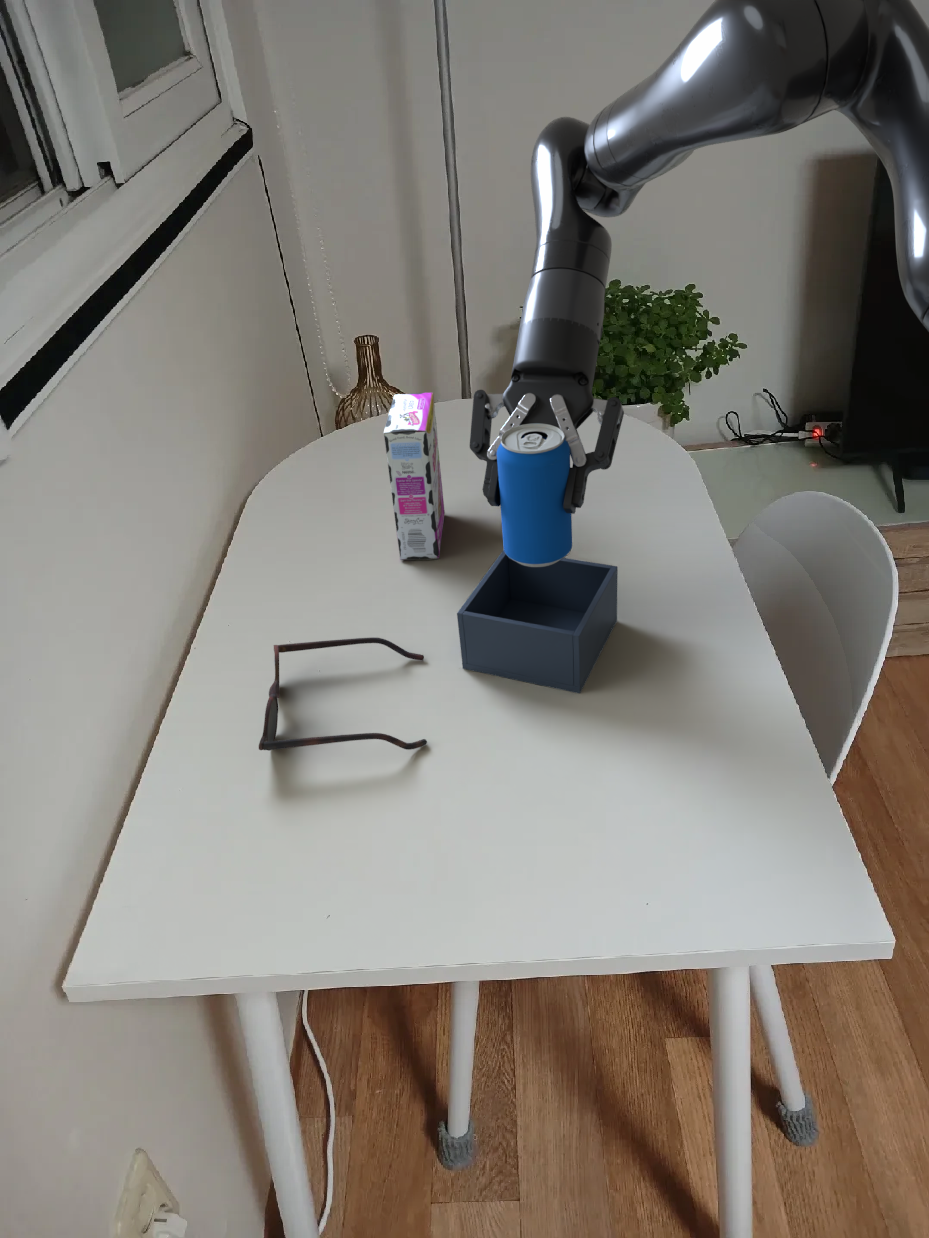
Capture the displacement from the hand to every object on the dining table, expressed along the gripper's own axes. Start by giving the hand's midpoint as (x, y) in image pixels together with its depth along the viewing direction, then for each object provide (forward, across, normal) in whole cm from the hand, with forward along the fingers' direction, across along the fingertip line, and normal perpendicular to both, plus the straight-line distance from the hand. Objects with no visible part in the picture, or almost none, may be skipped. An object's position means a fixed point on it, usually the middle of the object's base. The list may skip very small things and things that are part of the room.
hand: (530, 507), depth 86 cm
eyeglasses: (+21, -15, +3) cm, 26 cm away
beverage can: (+3, 0, +5) cm, 6 cm away
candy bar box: (-2, -20, +26) cm, 32 cm away
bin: (+11, 0, +13) cm, 17 cm away
